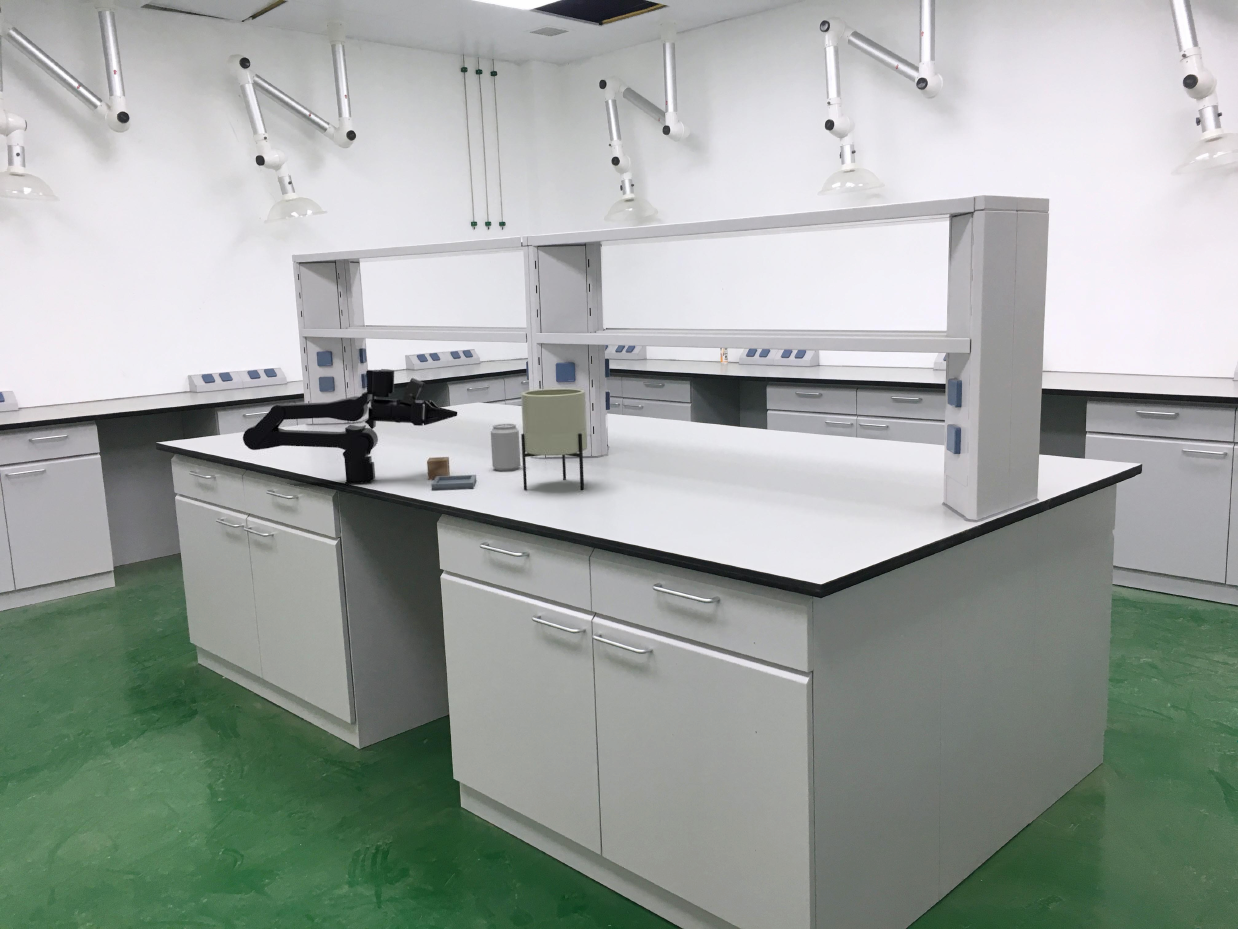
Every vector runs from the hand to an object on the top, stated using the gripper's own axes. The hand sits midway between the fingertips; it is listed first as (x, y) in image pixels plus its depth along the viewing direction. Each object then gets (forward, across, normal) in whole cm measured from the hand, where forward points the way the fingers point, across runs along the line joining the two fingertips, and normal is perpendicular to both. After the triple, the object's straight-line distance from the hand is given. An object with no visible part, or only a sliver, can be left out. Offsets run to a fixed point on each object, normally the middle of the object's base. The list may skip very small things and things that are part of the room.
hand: (455, 414), depth 248 cm
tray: (+1, -8, +17) cm, 19 cm away
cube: (-4, +3, +17) cm, 17 cm away
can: (+13, +11, +14) cm, 22 cm away
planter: (+26, -16, +16) cm, 34 cm away
